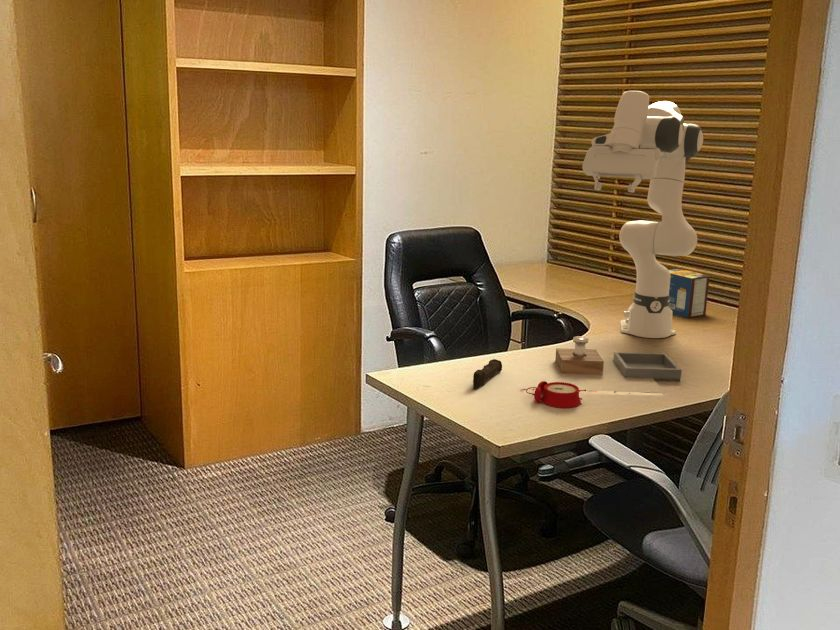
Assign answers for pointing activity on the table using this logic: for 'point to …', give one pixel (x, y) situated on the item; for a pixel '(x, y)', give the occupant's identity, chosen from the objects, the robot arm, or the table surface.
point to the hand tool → (486, 373)
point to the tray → (647, 366)
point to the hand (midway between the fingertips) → (613, 190)
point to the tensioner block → (579, 362)
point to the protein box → (688, 293)
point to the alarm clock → (557, 394)
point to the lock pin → (580, 345)
